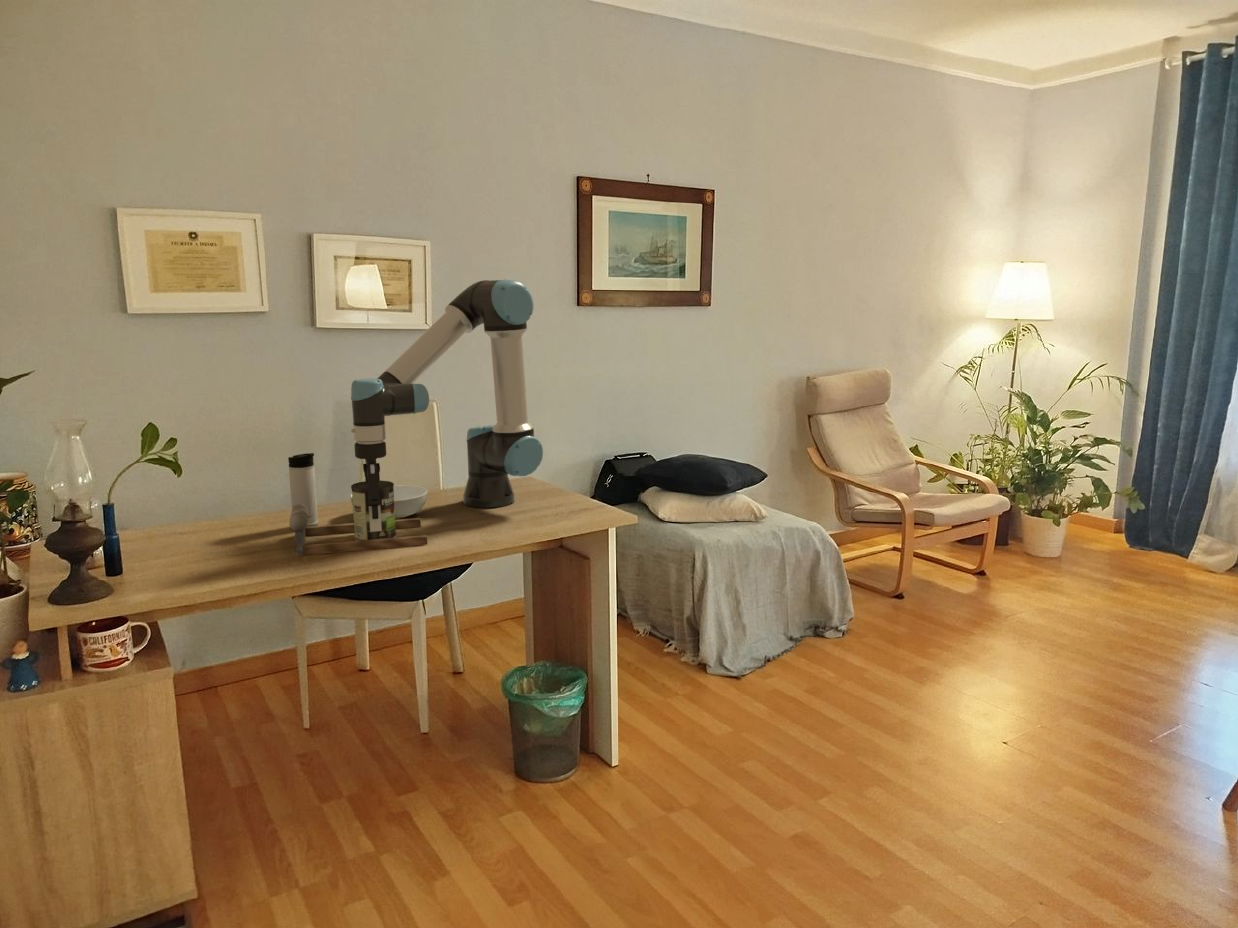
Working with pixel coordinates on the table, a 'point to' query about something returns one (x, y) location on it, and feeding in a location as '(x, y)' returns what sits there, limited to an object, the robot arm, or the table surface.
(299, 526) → the bay
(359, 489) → the coffee can
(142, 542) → the table surface
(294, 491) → the travel mug
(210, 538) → the table surface
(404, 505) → the serving bowl
